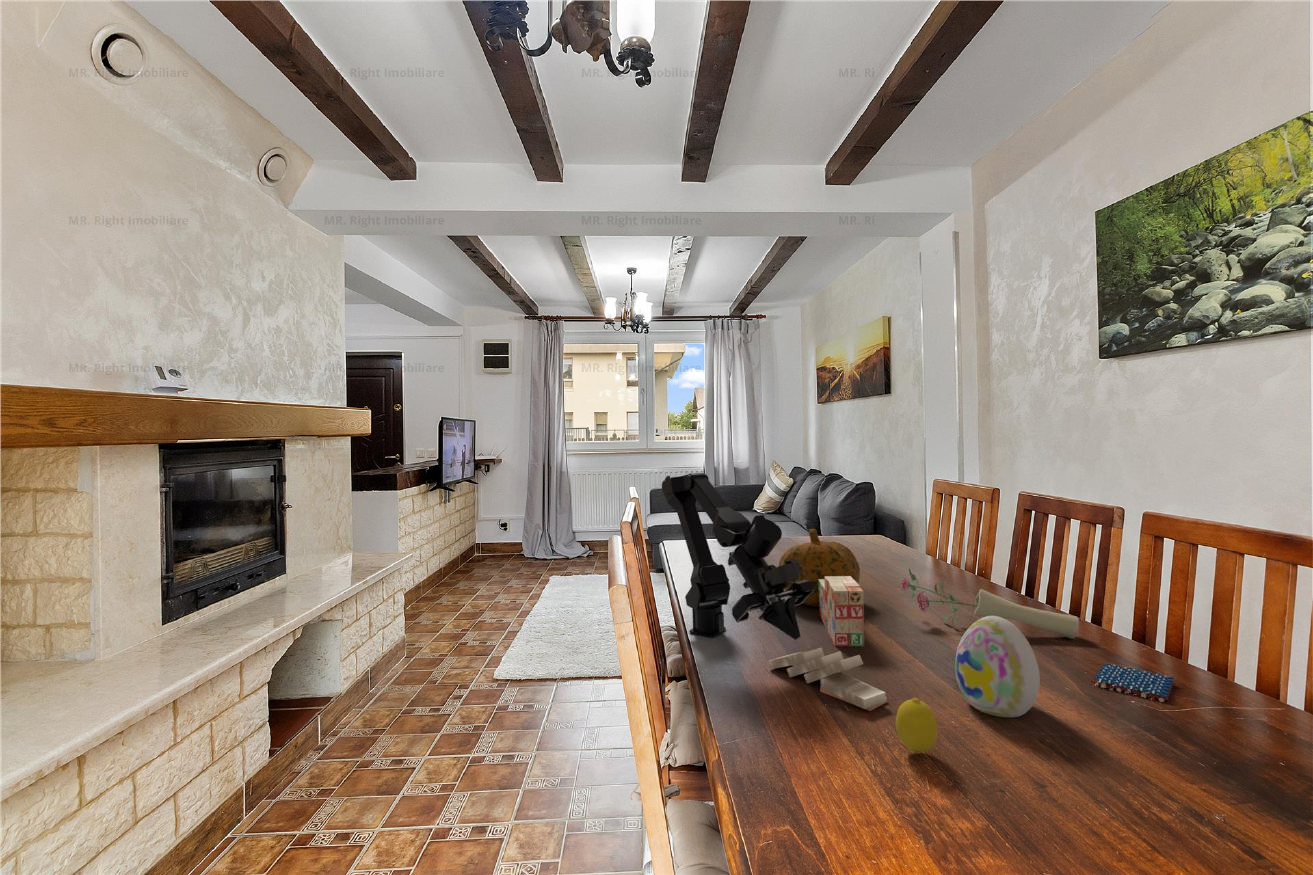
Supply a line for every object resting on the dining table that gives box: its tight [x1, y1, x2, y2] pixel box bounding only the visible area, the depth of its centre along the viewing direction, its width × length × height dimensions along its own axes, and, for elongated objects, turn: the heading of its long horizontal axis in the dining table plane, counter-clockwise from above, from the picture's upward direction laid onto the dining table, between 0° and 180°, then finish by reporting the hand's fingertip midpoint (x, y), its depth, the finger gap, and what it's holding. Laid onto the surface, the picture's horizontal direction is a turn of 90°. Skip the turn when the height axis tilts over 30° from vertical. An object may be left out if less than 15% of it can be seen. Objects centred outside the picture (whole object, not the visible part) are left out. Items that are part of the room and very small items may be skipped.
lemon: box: [895, 697, 939, 755], centre depth 87 cm, size 6×6×8 cm
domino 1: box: [767, 647, 825, 670], centre depth 116 cm, size 2×5×10 cm
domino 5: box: [819, 686, 888, 712], centre depth 106 cm, size 2×5×10 cm
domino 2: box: [786, 650, 845, 678], centre depth 112 cm, size 2×5×10 cm
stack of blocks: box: [818, 576, 865, 647], centre depth 140 cm, size 21×6×12 cm, turn 174°
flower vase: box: [901, 568, 1080, 640], centre depth 137 cm, size 12×12×35 cm
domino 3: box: [803, 654, 864, 684], centre depth 109 cm, size 2×5×10 cm
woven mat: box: [1091, 662, 1176, 703], centre depth 107 cm, size 10×11×2 cm
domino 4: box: [819, 672, 887, 710], centre depth 105 cm, size 2×5×10 cm
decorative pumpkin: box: [778, 528, 861, 607], centre depth 163 cm, size 20×21×20 cm
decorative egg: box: [954, 616, 1041, 718], centre depth 101 cm, size 12×12×15 cm
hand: (798, 638), depth 116 cm, fingers closed
